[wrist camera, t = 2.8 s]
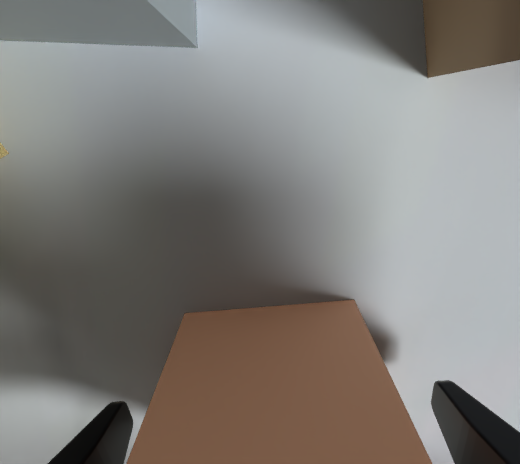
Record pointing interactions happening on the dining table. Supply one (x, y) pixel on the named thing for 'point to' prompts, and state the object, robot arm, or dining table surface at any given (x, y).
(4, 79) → the dining table surface
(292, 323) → the terracotta cube
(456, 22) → the walnut cube
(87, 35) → the slate cube
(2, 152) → the ochre cube
